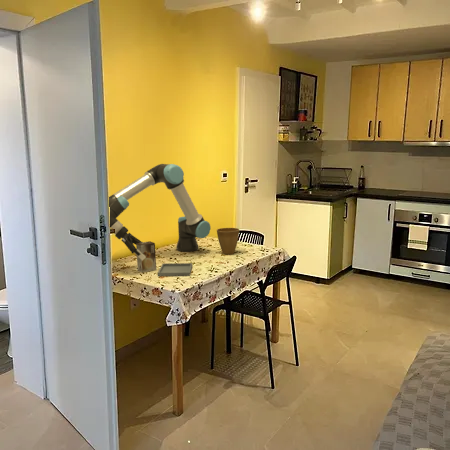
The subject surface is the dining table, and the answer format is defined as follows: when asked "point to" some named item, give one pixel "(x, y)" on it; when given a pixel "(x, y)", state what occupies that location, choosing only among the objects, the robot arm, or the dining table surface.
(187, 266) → the tray
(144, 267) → the coffee box
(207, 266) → the dining table surface
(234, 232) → the plant pot
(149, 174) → the robot arm
